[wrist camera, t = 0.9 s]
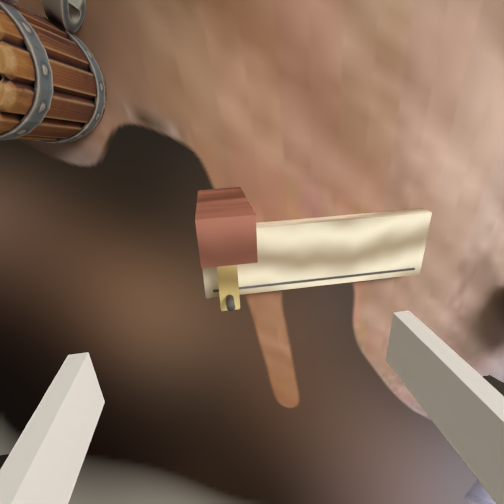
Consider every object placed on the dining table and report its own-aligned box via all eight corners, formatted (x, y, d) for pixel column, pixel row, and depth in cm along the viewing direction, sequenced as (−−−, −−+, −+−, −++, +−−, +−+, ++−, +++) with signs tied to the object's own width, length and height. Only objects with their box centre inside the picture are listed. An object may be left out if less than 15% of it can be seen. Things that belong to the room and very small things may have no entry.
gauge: (197, 190, 35) (194, 219, 25) (240, 187, 36) (255, 214, 25) (210, 296, 41) (212, 358, 30) (246, 291, 42) (261, 351, 31)
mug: (85, 162, 33) (0, 189, 19) (-24, 102, 30) (-221, 84, 16) (149, 18, 29) (100, -77, 15) (31, -70, 26) (-168, -293, 12)
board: (198, 227, 38) (197, 233, 36) (421, 208, 41) (432, 212, 39) (205, 290, 41) (205, 298, 39) (410, 268, 45) (420, 274, 43)
